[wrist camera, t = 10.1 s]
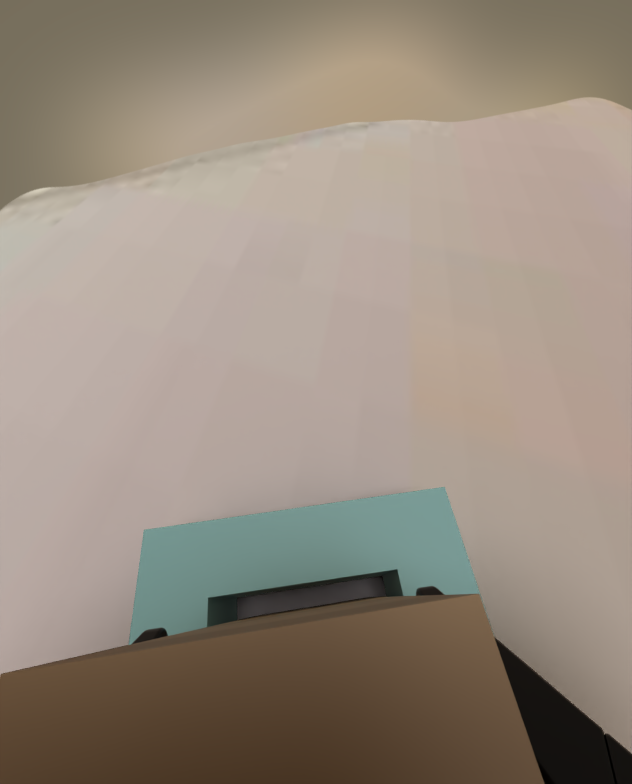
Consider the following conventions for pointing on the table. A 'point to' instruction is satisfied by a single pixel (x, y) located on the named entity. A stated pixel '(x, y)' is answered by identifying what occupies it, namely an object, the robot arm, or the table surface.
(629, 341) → the table surface
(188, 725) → the slat
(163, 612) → the rectangular frame
